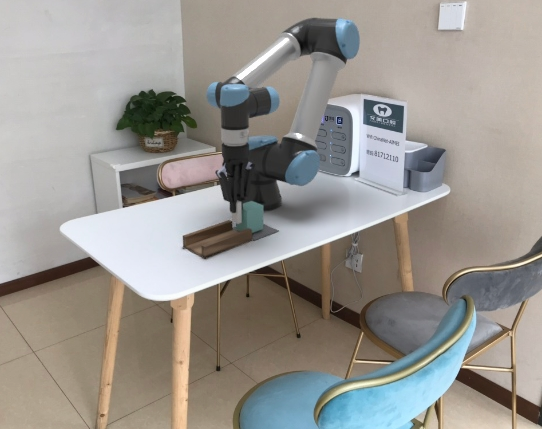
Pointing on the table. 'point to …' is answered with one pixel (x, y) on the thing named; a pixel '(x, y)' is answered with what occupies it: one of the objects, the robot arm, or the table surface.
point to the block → (251, 217)
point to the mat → (261, 232)
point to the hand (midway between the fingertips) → (236, 221)
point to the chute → (215, 239)
